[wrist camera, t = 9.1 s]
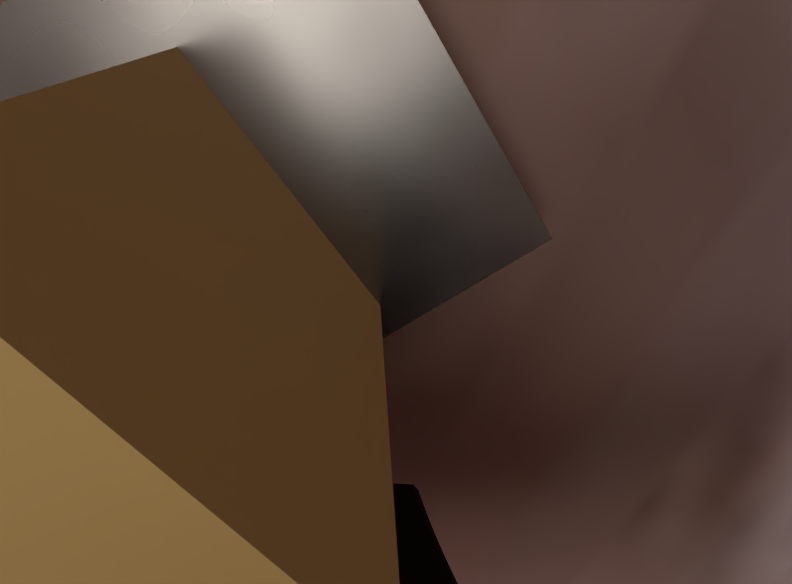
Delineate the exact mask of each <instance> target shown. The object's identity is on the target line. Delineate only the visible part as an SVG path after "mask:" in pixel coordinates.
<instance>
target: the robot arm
mask: <svg viewBox="0 0 792 584" xmlns="http://www.w3.org/2000/svg"><path fill="white" fill-rule="evenodd" d="M393 495H394V510H395V524H396V538H397V553H398V567H399V581H400V584H458V583H457V581H456V579H455V577H454V575H453V573H452V571H451V569H450V567H449V565H448V562H447V560H446V558H445V556H444V554H443V551H442V549H441V547H440V545H439V542H438V540H437V538H436V535H435V533H434V531H433V528H432V526H431V523H430V521H429V518H428V516H427V513H426V511H425V508H424V505H423V503H422V500H421V497H420V494H419V491H418V490H417V488H416V487H415V486H414V485H409V484H394V483H393Z"/></svg>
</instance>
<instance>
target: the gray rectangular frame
mask: <svg viewBox="0 0 792 584" xmlns="http://www.w3.org/2000/svg"><path fill="white" fill-rule="evenodd" d="M175 47H177V48H178V49H179V50H180V52H181V53H182V54H183V55H184V57H185V58H186V59H187V61H188V62H189V63H190V64H191V66H192V67H193V68H194V69H195V71H196V72H197V73H198V75H199V76H200V77H201V78H202V80H203V81H204V82H205V83H206V85H207V86H208V87H209V88H210V90H211V91H212V92H213V94H214V95H215V96H216V97H217V99H218V100H219V101H220V102H221V104H222V105H223V106H224V108H225V109H226V110H227V111H228V113H229V114H230V115H231V116H232V118H233V119H234V120H235V122H236V123H237V124H238V125H239V127H240V128H241V129H242V130H243V132H244V133H245V134H246V135H247V137H248V138H249V139H250V141H251V142H252V143H253V144H254V146H255V147H256V148H257V149H258V151H259V152H260V153H261V155H262V156H263V157H264V158H265V160H266V161H267V162H268V163H269V165H270V166H271V167H272V169H273V170H274V171H275V172H276V174H277V175H278V176H279V177H280V179H281V180H282V181H283V182H284V184H285V185H286V186H287V188H288V189H289V190H290V191H291V193H292V194H293V195H294V196H295V198H296V199H297V200H298V202H299V203H300V204H301V205H302V207H303V208H304V209H305V210H306V212H307V213H308V214H309V216H310V217H311V218H312V219H313V221H314V222H315V223H316V224H317V226H318V227H319V228H320V230H321V231H322V232H323V233H324V235H325V236H326V237H327V238H328V240H329V241H330V242H331V243H332V245H333V246H334V247H335V249H336V250H337V251H338V252H339V254H340V255H341V256H342V257H343V259H344V260H345V261H346V263H347V264H348V265H349V266H350V268H351V269H352V270H353V271H354V273H355V274H356V275H357V277H358V278H359V279H360V280H361V282H362V283H363V284H364V285H365V287H366V288H367V289H368V290H369V292H370V293H371V294H372V296H373V297H374V298H375V299H376V301H377V302H378V303H379V304H380V309H381V323H382V337H383V338H384V337H386V336H387V335H389V334H391V333H393V332H394V331H396V330H398V329H399V328H401V327H403V326H404V325H406V324H408V323H410V322H411V321H413V320H415V319H416V318H418V317H420V316H421V315H423V314H425V313H427V312H428V311H430V310H432V309H433V308H435V307H437V306H438V305H440V304H442V303H444V302H445V301H447V300H449V299H450V298H452V297H454V296H455V295H457V294H459V293H461V292H462V291H464V290H466V289H467V288H469V287H471V286H472V285H474V284H476V283H478V282H479V281H481V280H483V279H484V278H486V277H488V276H489V275H491V274H493V273H495V272H496V271H498V270H500V269H501V268H503V267H505V266H506V265H508V264H510V263H512V262H513V261H515V260H517V259H518V258H520V257H522V256H523V255H525V254H527V253H529V252H530V251H532V250H534V249H535V248H537V247H539V246H541V245H542V244H544V243H546V242H547V241H549V240H551V239H552V237H551V236H550V234H549V232H548V230H547V229H546V227H545V225H544V223H543V221H542V220H541V218H540V216H539V214H538V213H537V211H536V209H535V207H534V205H533V204H532V202H531V200H530V198H529V197H528V195H527V193H526V191H525V189H524V188H523V186H522V184H521V182H520V181H519V179H518V177H517V175H516V173H515V172H514V170H513V168H512V166H511V165H510V163H509V161H508V159H507V158H506V156H505V154H504V152H503V150H502V149H501V147H500V145H499V143H498V142H497V140H496V138H495V136H494V134H493V133H492V131H491V129H490V127H489V126H488V124H487V122H486V120H485V118H484V117H483V115H482V113H481V111H480V110H479V108H478V106H477V104H476V102H475V101H474V99H473V97H472V95H471V94H470V92H469V90H468V88H467V87H466V85H465V83H464V81H463V79H462V78H461V76H460V74H459V72H458V71H457V69H456V67H455V65H454V63H453V62H452V60H451V58H450V56H449V55H448V53H447V51H446V49H445V47H444V46H443V44H442V42H441V40H440V39H439V37H438V35H437V33H436V31H435V30H434V28H433V26H432V24H431V23H430V21H429V19H428V17H427V16H426V14H425V12H424V10H423V8H422V7H421V5H420V3H419V1H418V0H5V1H4V2H3V3H2V4H1V5H0V101H4V100H7V99H10V98H13V97H16V96H20V95H23V94H26V93H29V92H33V91H36V90H39V89H42V88H46V87H49V86H52V85H55V84H59V83H62V82H65V81H68V80H71V79H75V78H78V77H81V76H84V75H88V74H91V73H94V72H97V71H101V70H104V69H107V68H110V67H113V66H117V65H120V64H123V63H126V62H130V61H133V60H136V59H139V58H143V57H146V56H149V55H152V54H155V53H159V52H162V51H165V50H168V49H172V48H175Z"/></svg>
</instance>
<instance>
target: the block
mask: <svg viewBox="0 0 792 584" xmlns="http://www.w3.org/2000/svg"><path fill="white" fill-rule="evenodd" d="M0 584H400V581H399V567H398V553H397V538H396V524H395V510H394V495H393V481H392V466H391V452H390V438H389V423H388V409H387V395H386V380H385V366H384V352H383V337H382V323H381V309H380V304H379V303H378V302H377V301H376V299H375V298H374V297H373V296H372V294H371V293H370V292H369V290H368V289H367V288H366V287H365V285H364V284H363V283H362V282H361V280H360V279H359V278H358V277H357V275H356V274H355V273H354V271H353V270H352V269H351V268H350V266H349V265H348V264H347V263H346V261H345V260H344V259H343V257H342V256H341V255H340V254H339V252H338V251H337V250H336V249H335V247H334V246H333V245H332V243H331V242H330V241H329V240H328V238H327V237H326V236H325V235H324V233H323V232H322V231H321V230H320V228H319V227H318V226H317V224H316V223H315V222H314V221H313V219H312V218H311V217H310V216H309V214H308V213H307V212H306V210H305V209H304V208H303V207H302V205H301V204H300V203H299V202H298V200H297V199H296V198H295V196H294V195H293V194H292V193H291V191H290V190H289V189H288V188H287V186H286V185H285V184H284V182H283V181H282V180H281V179H280V177H279V176H278V175H277V174H276V172H275V171H274V170H273V169H272V167H271V166H270V165H269V163H268V162H267V161H266V160H265V158H264V157H263V156H262V155H261V153H260V152H259V151H258V149H257V148H256V147H255V146H254V144H253V143H252V142H251V141H250V139H249V138H248V137H247V135H246V134H245V133H244V132H243V130H242V129H241V128H240V127H239V125H238V124H237V123H236V122H235V120H234V119H233V118H232V116H231V115H230V114H229V113H228V111H227V110H226V109H225V108H224V106H223V105H222V104H221V102H220V101H219V100H218V99H217V97H216V96H215V95H214V94H213V92H212V91H211V90H210V88H209V87H208V86H207V85H206V83H205V82H204V81H203V80H202V78H201V77H200V76H199V75H198V73H197V72H196V71H195V69H194V68H193V67H192V66H191V64H190V63H189V62H188V61H187V59H186V58H185V57H184V55H183V54H182V53H181V52H180V50H179V49H178V48H177V47H175V48H172V49H168V50H165V51H162V52H159V53H155V54H152V55H149V56H146V57H143V58H139V59H136V60H133V61H130V62H126V63H123V64H120V65H117V66H113V67H110V68H107V69H104V70H101V71H97V72H94V73H91V74H88V75H84V76H81V77H78V78H75V79H71V80H68V81H65V82H62V83H59V84H55V85H52V86H49V87H46V88H42V89H39V90H36V91H33V92H29V93H26V94H23V95H20V96H16V97H13V98H10V99H7V100H4V101H0Z"/></svg>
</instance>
